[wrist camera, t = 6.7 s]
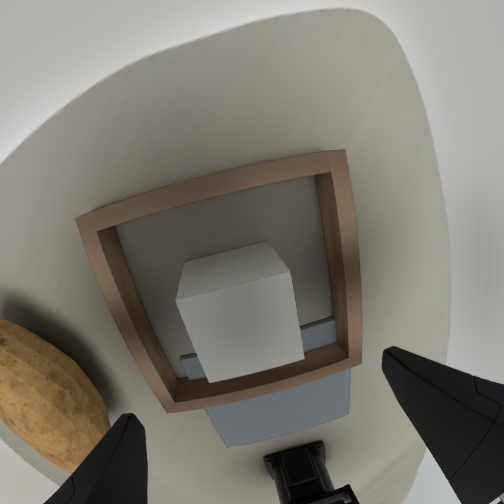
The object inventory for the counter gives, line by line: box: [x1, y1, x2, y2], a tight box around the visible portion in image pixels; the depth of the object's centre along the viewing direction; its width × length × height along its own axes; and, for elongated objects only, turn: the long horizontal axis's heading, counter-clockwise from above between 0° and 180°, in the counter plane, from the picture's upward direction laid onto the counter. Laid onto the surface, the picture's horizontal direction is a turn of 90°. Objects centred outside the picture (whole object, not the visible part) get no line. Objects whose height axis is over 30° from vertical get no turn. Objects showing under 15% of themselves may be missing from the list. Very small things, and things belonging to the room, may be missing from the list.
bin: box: [75, 149, 362, 413], centre depth 16 cm, size 14×14×2 cm
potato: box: [0, 318, 111, 473], centre depth 13 cm, size 10×14×8 cm
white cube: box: [175, 241, 305, 383], centre depth 15 cm, size 5×5×5 cm
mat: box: [180, 317, 350, 448], centre depth 20 cm, size 12×12×1 cm
